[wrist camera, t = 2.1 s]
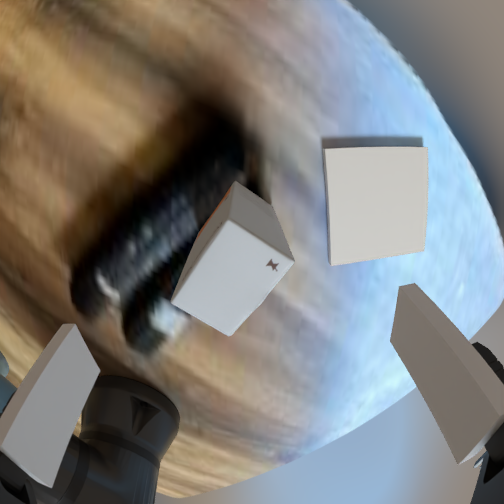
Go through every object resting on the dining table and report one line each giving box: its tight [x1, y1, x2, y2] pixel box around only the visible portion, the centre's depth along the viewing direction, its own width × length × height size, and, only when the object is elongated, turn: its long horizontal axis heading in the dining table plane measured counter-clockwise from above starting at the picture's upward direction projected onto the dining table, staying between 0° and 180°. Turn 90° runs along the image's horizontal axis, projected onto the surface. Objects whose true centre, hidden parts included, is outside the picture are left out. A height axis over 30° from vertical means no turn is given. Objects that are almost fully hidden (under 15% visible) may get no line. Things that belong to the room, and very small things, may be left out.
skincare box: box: [171, 181, 295, 336], centre depth 20 cm, size 6×4×12 cm
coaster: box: [322, 146, 428, 266], centre depth 25 cm, size 11×11×1 cm
